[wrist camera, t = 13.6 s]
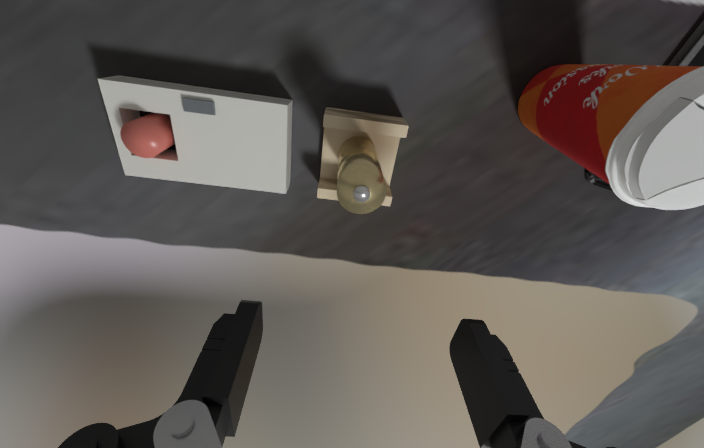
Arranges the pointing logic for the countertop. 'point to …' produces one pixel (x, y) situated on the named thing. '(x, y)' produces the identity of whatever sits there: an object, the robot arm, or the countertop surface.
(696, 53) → the phone
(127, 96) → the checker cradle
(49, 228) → the countertop surface
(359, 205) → the cell
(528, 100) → the paper cup
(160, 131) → the button
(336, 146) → the beige channel block
